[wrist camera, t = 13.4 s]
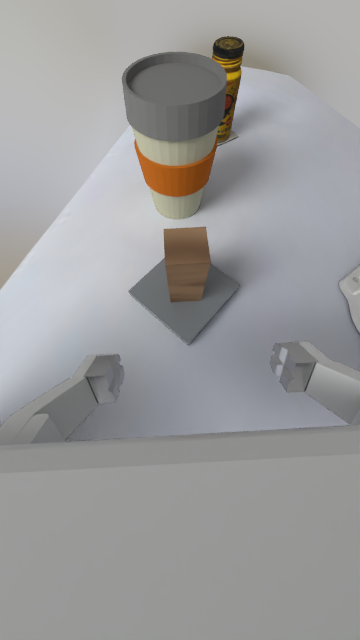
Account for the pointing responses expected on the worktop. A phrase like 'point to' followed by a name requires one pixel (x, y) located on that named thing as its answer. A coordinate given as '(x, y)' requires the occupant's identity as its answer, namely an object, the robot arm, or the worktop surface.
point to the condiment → (229, 80)
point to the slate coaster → (183, 315)
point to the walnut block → (186, 262)
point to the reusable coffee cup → (175, 125)
